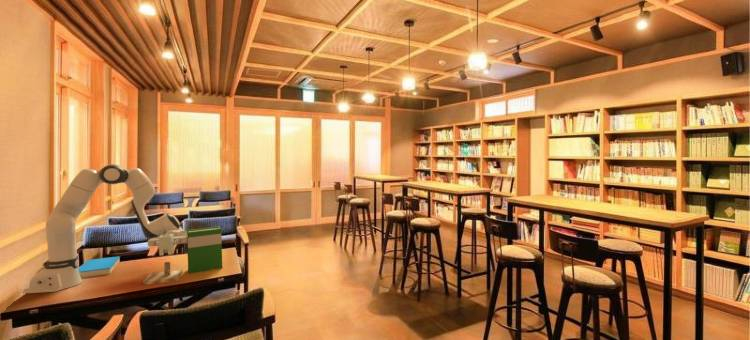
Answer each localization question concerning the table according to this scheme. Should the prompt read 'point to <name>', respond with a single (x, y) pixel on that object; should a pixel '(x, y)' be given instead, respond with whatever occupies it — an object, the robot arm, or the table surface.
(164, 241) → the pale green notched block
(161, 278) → the post board
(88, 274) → the book
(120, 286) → the table surface
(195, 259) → the hardback book
